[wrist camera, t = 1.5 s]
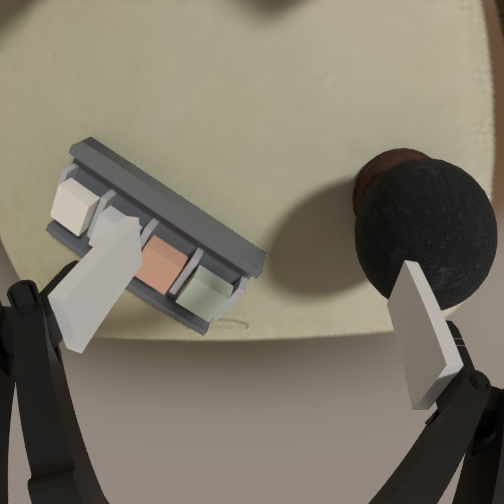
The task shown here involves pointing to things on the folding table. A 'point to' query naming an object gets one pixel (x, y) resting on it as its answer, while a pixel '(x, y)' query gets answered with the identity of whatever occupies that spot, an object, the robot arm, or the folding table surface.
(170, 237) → the keypad board
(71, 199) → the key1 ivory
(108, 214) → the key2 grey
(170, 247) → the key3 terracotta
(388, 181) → the black ball on stand
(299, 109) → the folding table surface
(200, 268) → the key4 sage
